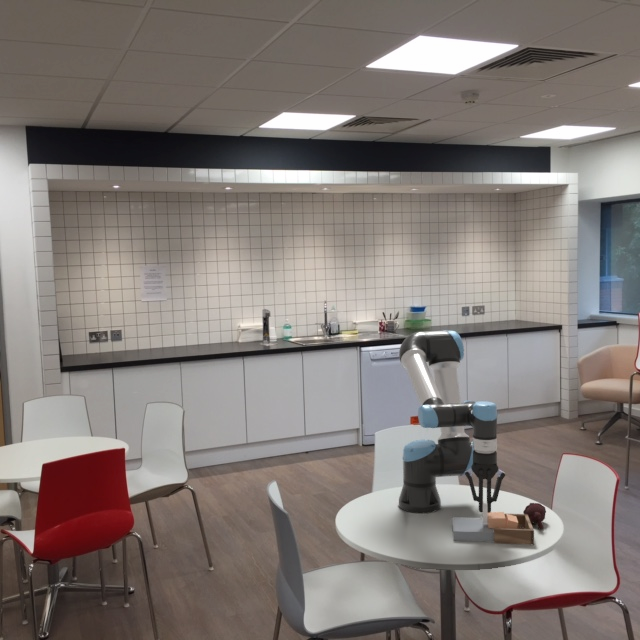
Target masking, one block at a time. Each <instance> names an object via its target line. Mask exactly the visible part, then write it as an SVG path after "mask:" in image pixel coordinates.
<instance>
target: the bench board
mask: <svg viewBox="0 0 640 640" xmlns="http://www.w3.org/2000/svg"><path fill="white" fill-rule="evenodd" d="M451 521H452V535H453V541H460V542H461V541H463V542H485V543H486V542H491V543H492V542H493V543H494V528H488V523H483V521H482V517H461V516H460V517H454V516H453V517H452V519H451Z"/></svg>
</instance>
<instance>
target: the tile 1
mask: <svg viewBox="0 0 640 640" xmlns="http://www.w3.org/2000/svg"><path fill="white" fill-rule="evenodd" d="M504 513H505V512H504V511H491V512H490V513H488V528H493V529H494V528H506V518H505V515H504Z"/></svg>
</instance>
